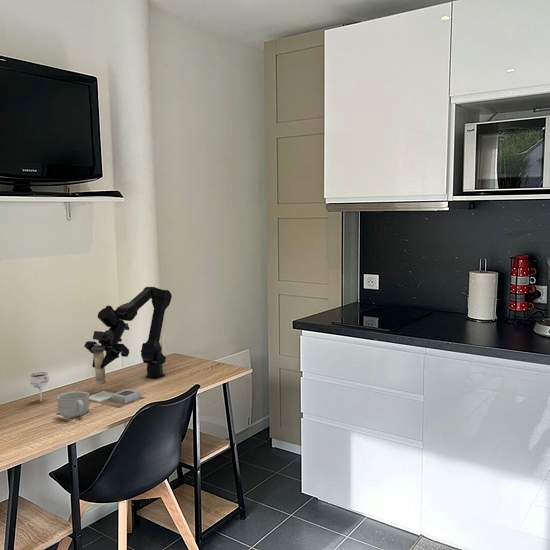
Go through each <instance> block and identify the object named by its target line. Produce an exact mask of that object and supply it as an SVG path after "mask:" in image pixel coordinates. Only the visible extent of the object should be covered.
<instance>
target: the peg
mask: <svg viewBox="0 0 550 550" xmlns="http://www.w3.org/2000/svg"><path fill="white" fill-rule="evenodd" d="M104 350H105V346H94V347H92V352H94V354H93V357H94V362H95V368H94V371H95V384H96V385H98V386H99V385H101V386H102V385H105V384H107V382H106V368H105V367H106V366H105V367H104V368H103V369H101V368H100V366H101V364H102V361H103V359H104V357H105V353H104Z"/></svg>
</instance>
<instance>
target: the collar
mask: <svg viewBox="0 0 550 550" xmlns="http://www.w3.org/2000/svg"><path fill="white" fill-rule="evenodd" d="M141 397H142V391H140V390H139V391H138V390H135V389H134V390H133V389H129V388H126V389H122V390H120V391H118V392H117V393H114V394H111V398H112V401H114V402H118V403H123V404H127V403H130V402H132V401H135V400H138V399H140V398H141ZM138 401H139V400H138Z"/></svg>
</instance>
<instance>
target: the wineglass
mask: <svg viewBox="0 0 550 550" xmlns="http://www.w3.org/2000/svg"><path fill="white" fill-rule="evenodd" d="M48 374H49V372H47V371H43V372H42V371H41V372H40V371H39V372H35V373H31V374H29V377H30V378H29V383H30V385H31V386H32V387H34V389H35V388H36V389H38V391H39V399H40V400H39V401H40V403H42V402H43V399H42V397H43V396H42V389H43V387H45V386H47V384H48V383H49V381H50V378H49V376H48Z"/></svg>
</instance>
